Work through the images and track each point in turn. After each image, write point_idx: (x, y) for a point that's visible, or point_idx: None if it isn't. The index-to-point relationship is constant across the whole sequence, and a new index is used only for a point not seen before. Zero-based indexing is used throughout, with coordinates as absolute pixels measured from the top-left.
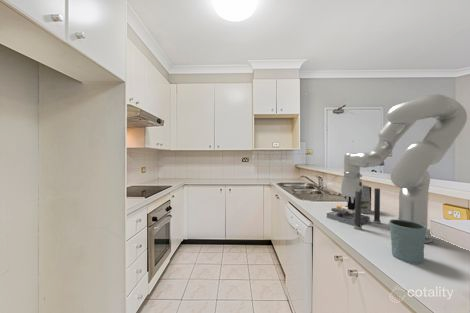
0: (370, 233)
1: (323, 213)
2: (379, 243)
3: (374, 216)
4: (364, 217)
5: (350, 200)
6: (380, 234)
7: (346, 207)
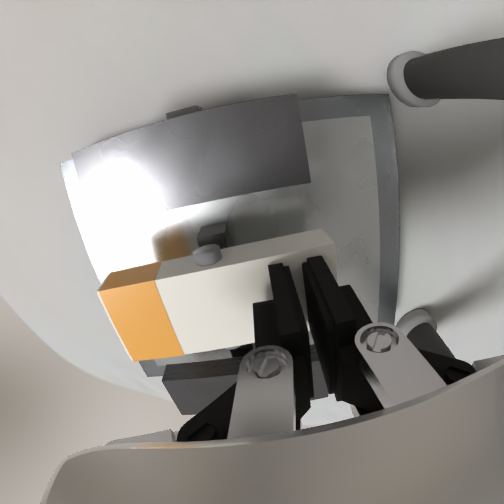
0: (470, 315)
1: (56, 299)
2: (501, 351)
3: (435, 93)
4: (381, 168)
5: (300, 392)
6: (498, 280)
7: (210, 298)
